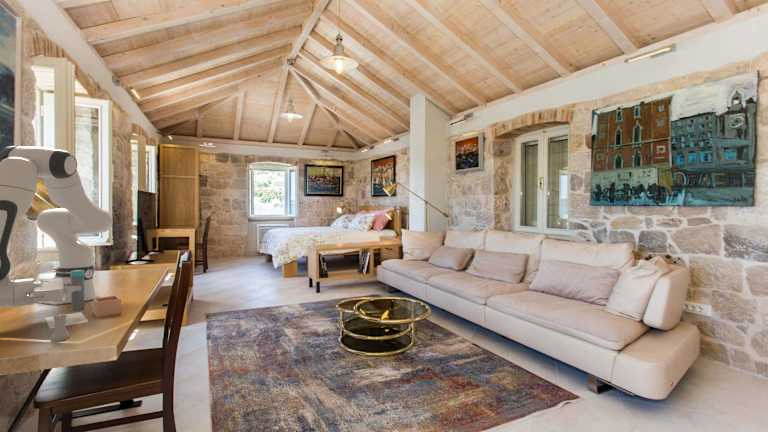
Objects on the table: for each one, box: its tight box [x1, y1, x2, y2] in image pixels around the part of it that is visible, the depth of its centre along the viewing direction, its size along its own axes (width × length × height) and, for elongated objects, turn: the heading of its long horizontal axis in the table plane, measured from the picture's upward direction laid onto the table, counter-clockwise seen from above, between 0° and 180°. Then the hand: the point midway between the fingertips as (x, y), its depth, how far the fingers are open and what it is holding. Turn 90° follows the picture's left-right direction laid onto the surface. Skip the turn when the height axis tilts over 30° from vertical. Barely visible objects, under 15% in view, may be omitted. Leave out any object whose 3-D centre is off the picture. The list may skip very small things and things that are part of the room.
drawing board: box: [45, 311, 89, 329], centre depth 130 cm, size 20×13×1 cm, turn 46°
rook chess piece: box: [50, 312, 70, 344], centre depth 113 cm, size 4×4×8 cm
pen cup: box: [92, 295, 122, 318], centre depth 139 cm, size 7×7×6 cm
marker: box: [70, 270, 85, 313], centre depth 132 cm, size 4×4×14 cm
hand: (80, 286), depth 133 cm, fingers closed on marker, 4 cm apart
